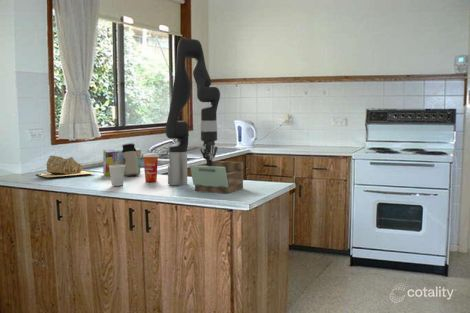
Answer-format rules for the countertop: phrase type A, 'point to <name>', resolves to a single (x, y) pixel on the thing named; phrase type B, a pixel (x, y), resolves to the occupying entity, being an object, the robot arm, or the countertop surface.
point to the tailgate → (209, 176)
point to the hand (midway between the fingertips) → (209, 167)
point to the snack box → (116, 159)
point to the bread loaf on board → (63, 167)
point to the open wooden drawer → (233, 178)
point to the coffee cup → (150, 166)
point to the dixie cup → (117, 174)
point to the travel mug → (130, 159)
